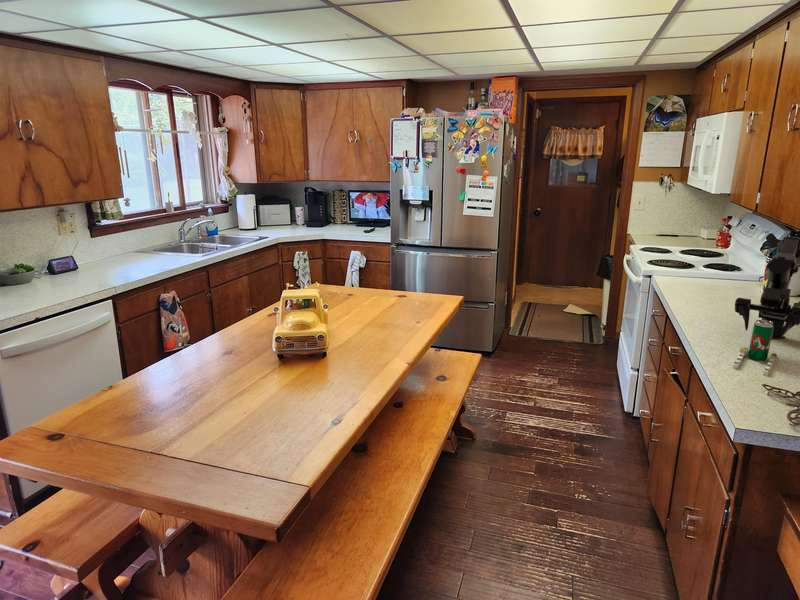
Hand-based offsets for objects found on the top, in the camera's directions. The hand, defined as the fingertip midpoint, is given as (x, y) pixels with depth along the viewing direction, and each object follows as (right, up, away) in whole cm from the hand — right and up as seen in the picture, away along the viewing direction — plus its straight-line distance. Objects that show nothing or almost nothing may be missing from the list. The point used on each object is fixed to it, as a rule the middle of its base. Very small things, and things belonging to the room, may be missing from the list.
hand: (763, 333), depth 164 cm
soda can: (-2, -8, -1) cm, 8 cm away
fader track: (-5, -9, -3) cm, 11 cm away
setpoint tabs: (-3, -7, -1) cm, 7 cm away
